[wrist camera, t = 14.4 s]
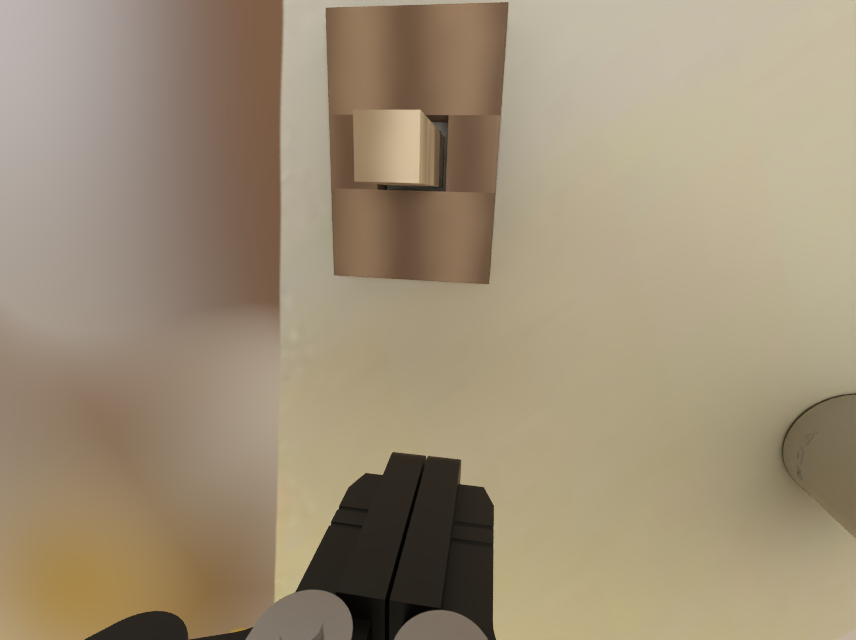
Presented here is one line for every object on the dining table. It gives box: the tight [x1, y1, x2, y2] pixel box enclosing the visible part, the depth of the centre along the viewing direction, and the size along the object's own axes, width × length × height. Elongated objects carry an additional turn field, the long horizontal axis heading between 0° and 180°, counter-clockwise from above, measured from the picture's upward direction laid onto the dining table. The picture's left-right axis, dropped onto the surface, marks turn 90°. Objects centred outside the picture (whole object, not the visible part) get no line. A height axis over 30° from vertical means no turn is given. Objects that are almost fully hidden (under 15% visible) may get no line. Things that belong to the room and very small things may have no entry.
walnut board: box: [326, 2, 508, 284], centre depth 32 cm, size 12×18×3 cm, turn 178°
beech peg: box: [353, 110, 445, 187], centre depth 28 cm, size 4×4×11 cm
